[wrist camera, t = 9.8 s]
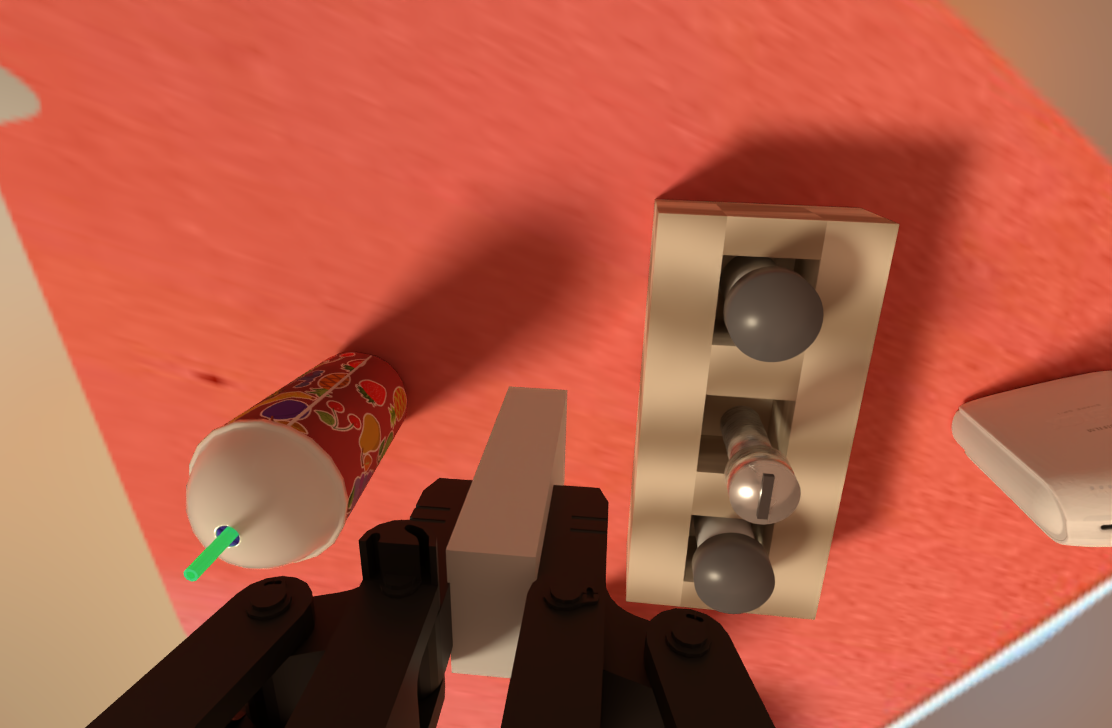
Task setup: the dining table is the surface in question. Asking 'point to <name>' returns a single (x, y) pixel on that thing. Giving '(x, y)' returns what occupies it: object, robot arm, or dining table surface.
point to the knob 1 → (769, 309)
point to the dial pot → (756, 470)
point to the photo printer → (1049, 453)
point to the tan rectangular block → (748, 388)
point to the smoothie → (293, 465)
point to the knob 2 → (730, 565)
